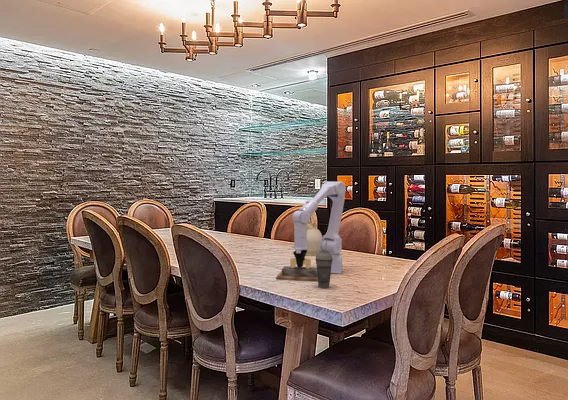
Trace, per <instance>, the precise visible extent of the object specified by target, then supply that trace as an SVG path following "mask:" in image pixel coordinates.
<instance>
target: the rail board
mask: <svg viewBox="0 0 568 400" xmlns="http://www.w3.org/2000/svg"><path fill="white" fill-rule="evenodd" d="M275 280H280V281H299V282H300V281H301V282H302V281H303V282H318V278H317V267H314V266H313V267H311V270H306V266H302V267H297V266H296V269H290V266H285V265H284V266H283V267H282V268H281V270H280V272H279V273H278V274H277V276H276V277H275Z"/></svg>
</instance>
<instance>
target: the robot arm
mask: <svg viewBox="0 0 568 400" xmlns="http://www.w3.org/2000/svg"><path fill="white" fill-rule="evenodd" d="M346 190H347V187H346V185H345V183H344V182H343V181H325V182H324V183H323V184H322V185H321V188H320V189H319V191H318V192H317V193H316V194H315V196H314V197H312V199H307V200H306V201H305V203H304V204H303V205H302V206H301V207H299V209H298V210H295V211H294V212H293V213H292V216H291V220H292V222H293V226H294V227H293V228H294V236H293V237H294V238H293V239H294V240H293V242H294V243H293V244H294V245H291V249H294V251H293V252H292V253H293V255H294V258H296V263H297V264H296V267H304V265H303V260H304V259H306V256H307V255H306V253H307V250H304V249H307V223H310V220H311V217H312V216H311V215H312V214H314V213H315V212H316V211H317V210H318V208H319V207H318V206H319V204H320V203H321V202H322V201H324V200H325V199H326V198H327V197H328V198H329V199H331V201H332V206H331V210H330V215H329V216H330V217H329V222H328V227H327V231H326V233H325V234H324V235H322V241H321V243H320V249H321V250H325V245H326V239H327V247H326V250H328V251H329V252H330V253H331V254H332V259H333V260H332V265H331V274H342V273H343V253H341V251H342V248H343V245H342V242H343V241H342V240H343V239H342V237H340V235H339V234H340V233H339V231H340V228H341V223H342V222H341V220H342V216H343V211H344V204H345V200H346V199H345V196H346Z"/></svg>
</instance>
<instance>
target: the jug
mask: <svg viewBox="0 0 568 400" xmlns="http://www.w3.org/2000/svg"><path fill="white" fill-rule="evenodd" d="M311 217H312V222H311V223H310V222H308V223H307V249H304V250H307V253H306V255H305V256H310V255H311V256H316V255H317V253H318V252H319V251H320V250H321V249H320V243H321V241H322V239H323V235H322V232H321V231H320V229H318V228H317V226H318V225H317V224H316V221H317V217H316V215H315V214H314V213H313V214H312V215H311Z"/></svg>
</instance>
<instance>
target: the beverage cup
mask: <svg viewBox="0 0 568 400" xmlns="http://www.w3.org/2000/svg"><path fill="white" fill-rule="evenodd" d="M326 247H327V239H326V245H325V250H320V251H319V252H318V253H317V255H315V259H314V260H315V265H316V268H317V278H318V281H317V285H318V286H317V287H318V288H320V289H329V288H330V284H331V283H330V282H331V274H332V273H331V265H332V260H333V259H332V254H331V253H330V252H329V251H328V250H326ZM328 287H329V288H328Z"/></svg>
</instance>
